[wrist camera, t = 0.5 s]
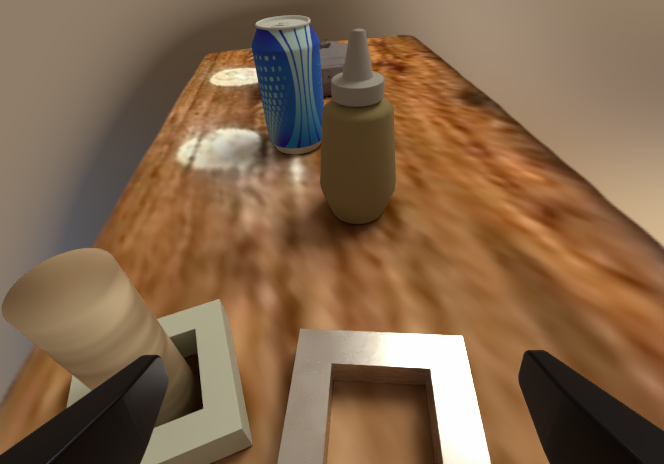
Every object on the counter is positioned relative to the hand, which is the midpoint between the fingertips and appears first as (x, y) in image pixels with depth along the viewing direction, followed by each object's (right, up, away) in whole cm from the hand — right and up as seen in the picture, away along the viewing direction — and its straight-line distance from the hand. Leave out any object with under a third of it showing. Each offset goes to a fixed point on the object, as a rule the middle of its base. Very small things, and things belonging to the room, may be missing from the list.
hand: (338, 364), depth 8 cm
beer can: (-5, +17, +43) cm, 47 cm away
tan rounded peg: (-12, -9, +16) cm, 21 cm away
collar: (-12, -9, +16) cm, 21 cm away
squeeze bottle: (+3, +6, +31) cm, 31 cm away
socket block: (+3, -10, +13) cm, 17 cm away
